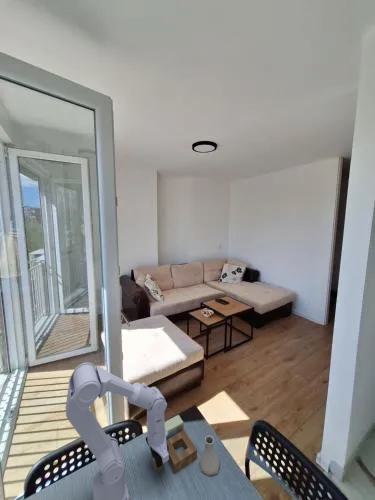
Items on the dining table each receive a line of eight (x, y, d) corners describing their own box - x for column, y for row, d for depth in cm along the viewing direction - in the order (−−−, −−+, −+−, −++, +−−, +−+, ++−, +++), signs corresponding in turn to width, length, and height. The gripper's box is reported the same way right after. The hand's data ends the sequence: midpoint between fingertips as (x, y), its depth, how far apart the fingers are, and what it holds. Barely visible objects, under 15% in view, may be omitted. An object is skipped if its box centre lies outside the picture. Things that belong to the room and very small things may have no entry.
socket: (174, 473, 75) (174, 464, 74) (163, 450, 82) (163, 442, 82) (197, 458, 79) (197, 449, 79) (184, 437, 87) (184, 429, 86)
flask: (219, 454, 80) (219, 430, 79) (220, 477, 73) (220, 451, 72) (199, 453, 81) (199, 428, 80) (198, 475, 74) (198, 449, 73)
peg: (155, 473, 75) (154, 452, 74) (152, 465, 77) (151, 445, 76) (163, 468, 76) (162, 447, 75) (160, 460, 79) (159, 440, 78)
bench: (162, 449, 83) (162, 434, 82) (158, 440, 86) (157, 425, 85) (183, 436, 87) (183, 422, 86) (178, 428, 91) (178, 414, 90)
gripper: (176, 437, 71) (178, 473, 72) (158, 405, 83) (159, 437, 85) (156, 449, 67) (158, 487, 69) (140, 414, 79) (141, 447, 81)
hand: (157, 460), depth 76 cm, fingers closed on peg, 3 cm apart
